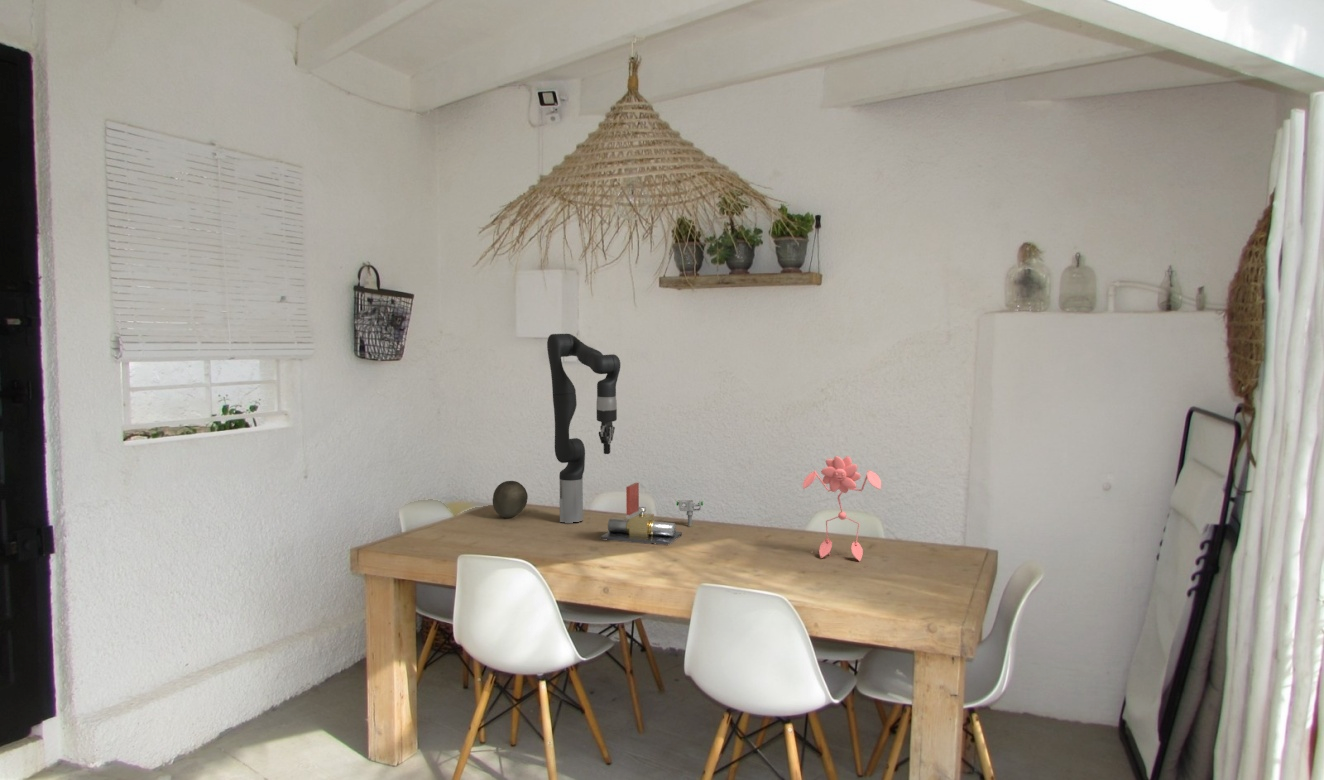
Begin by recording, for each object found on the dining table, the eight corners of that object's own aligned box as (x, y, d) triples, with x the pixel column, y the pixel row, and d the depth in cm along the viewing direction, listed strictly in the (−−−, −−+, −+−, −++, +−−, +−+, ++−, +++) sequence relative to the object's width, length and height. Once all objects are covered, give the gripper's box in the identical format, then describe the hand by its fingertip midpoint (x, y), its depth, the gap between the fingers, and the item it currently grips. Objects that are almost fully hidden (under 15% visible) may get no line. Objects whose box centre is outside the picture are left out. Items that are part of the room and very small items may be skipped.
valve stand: (600, 539, 303) (600, 513, 302) (617, 530, 318) (617, 505, 317) (668, 545, 294) (668, 518, 294) (681, 535, 309) (681, 509, 309)
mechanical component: (702, 527, 322) (702, 501, 322) (676, 527, 322) (676, 501, 322) (702, 525, 325) (702, 500, 325) (676, 525, 325) (676, 500, 325)
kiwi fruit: (492, 522, 332) (492, 484, 331) (492, 514, 346) (492, 479, 345) (528, 520, 335) (528, 483, 334) (527, 513, 349) (526, 477, 348)
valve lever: (623, 518, 293) (623, 486, 292) (639, 509, 307) (638, 479, 307) (632, 518, 292) (632, 487, 291) (647, 510, 306) (647, 480, 306)
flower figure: (805, 551, 284) (805, 450, 281) (882, 559, 275) (883, 454, 272) (795, 564, 270) (795, 458, 267) (876, 572, 261) (877, 462, 258)
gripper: (602, 405, 317) (602, 449, 319) (591, 410, 304) (591, 456, 306) (621, 405, 315) (621, 450, 317) (610, 411, 302) (611, 457, 305)
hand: (606, 453), depth 312 cm, fingers closed
